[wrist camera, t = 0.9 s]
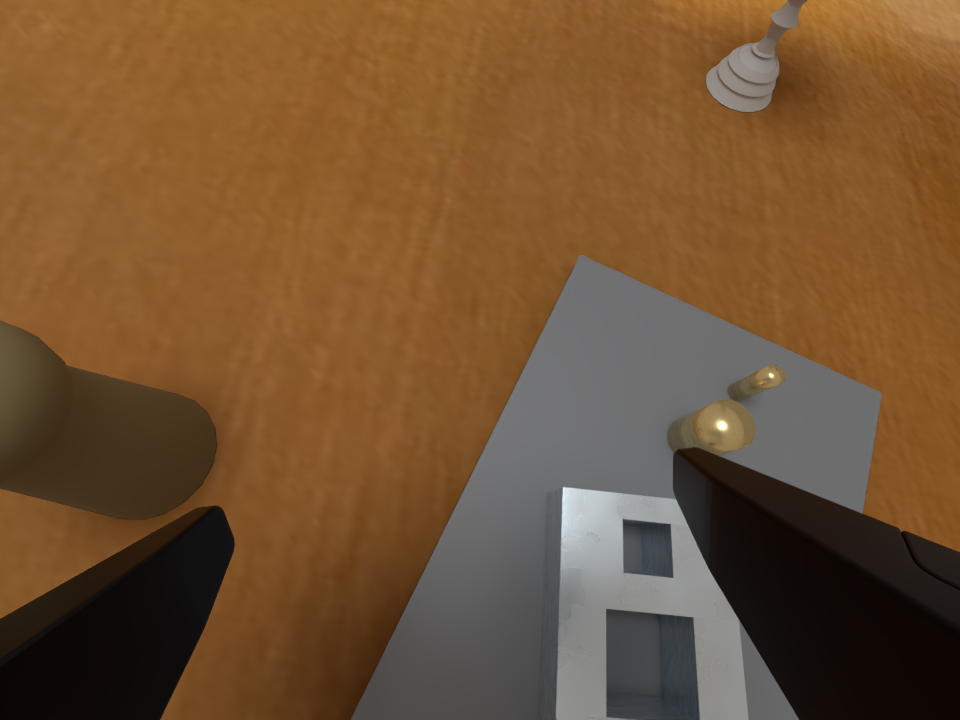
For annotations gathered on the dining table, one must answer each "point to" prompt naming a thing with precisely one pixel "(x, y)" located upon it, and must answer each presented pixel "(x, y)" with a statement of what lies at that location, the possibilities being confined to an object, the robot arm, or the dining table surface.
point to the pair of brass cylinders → (725, 417)
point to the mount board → (610, 468)
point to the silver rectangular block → (656, 589)
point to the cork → (95, 435)
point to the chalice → (753, 66)
